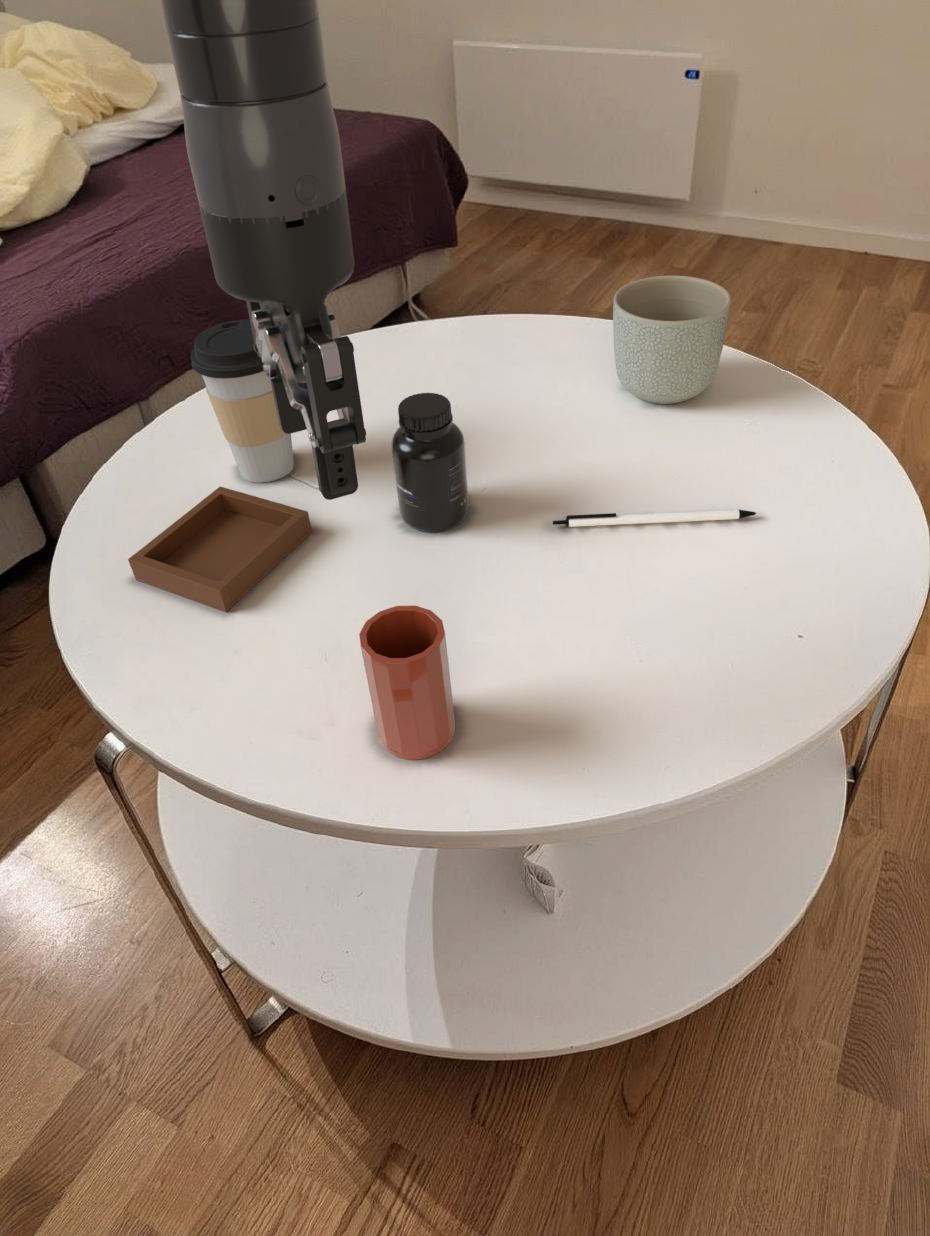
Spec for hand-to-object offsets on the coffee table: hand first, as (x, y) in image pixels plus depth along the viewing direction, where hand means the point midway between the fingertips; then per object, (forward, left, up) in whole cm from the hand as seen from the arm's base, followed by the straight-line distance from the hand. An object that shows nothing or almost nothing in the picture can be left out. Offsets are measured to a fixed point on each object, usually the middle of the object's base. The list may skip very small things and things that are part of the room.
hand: (317, 459), depth 58 cm
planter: (+56, -4, -22) cm, 60 cm away
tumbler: (-1, -5, -22) cm, 23 cm away
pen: (+31, -12, -22) cm, 40 cm away
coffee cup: (+24, +29, -22) cm, 44 cm away
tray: (+10, +23, -22) cm, 33 cm away
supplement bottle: (+24, +8, -22) cm, 34 cm away
